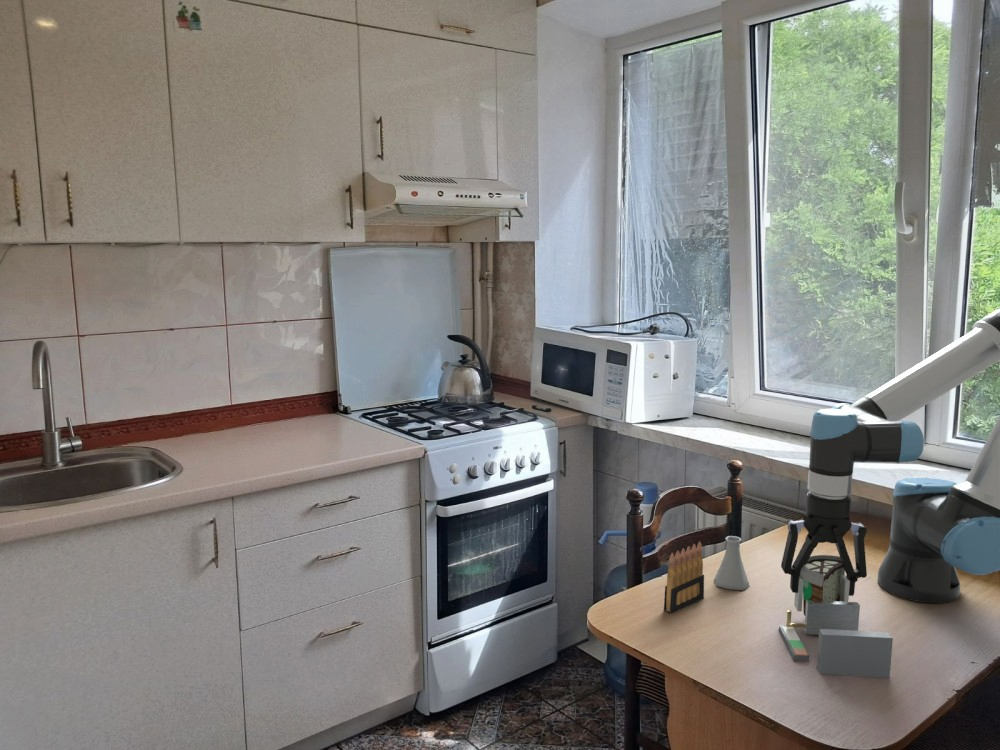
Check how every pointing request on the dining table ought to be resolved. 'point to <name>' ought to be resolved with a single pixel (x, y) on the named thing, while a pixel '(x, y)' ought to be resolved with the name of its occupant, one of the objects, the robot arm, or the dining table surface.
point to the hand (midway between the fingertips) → (820, 609)
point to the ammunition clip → (684, 579)
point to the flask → (732, 567)
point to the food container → (822, 578)
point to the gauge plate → (828, 616)
